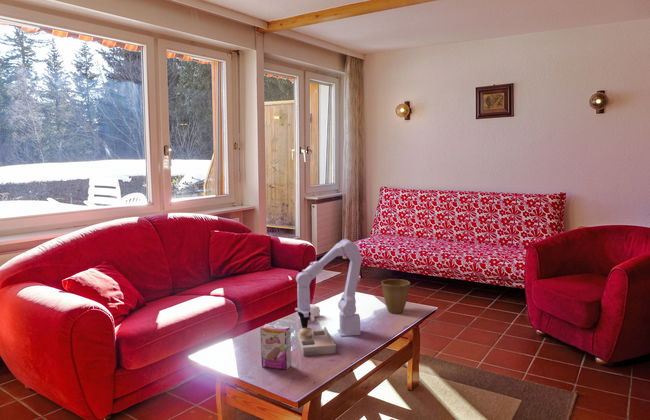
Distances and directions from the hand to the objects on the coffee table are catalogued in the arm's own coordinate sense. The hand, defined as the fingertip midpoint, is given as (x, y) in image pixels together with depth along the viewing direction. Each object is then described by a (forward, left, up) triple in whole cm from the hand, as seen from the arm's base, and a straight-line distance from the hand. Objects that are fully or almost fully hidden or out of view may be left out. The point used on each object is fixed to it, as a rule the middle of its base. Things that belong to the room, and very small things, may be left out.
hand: (304, 327), depth 234 cm
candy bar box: (+16, +29, -5) cm, 33 cm away
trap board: (-3, +9, -5) cm, 11 cm away
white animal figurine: (-6, -26, -5) cm, 27 cm away
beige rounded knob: (0, +5, -3) cm, 6 cm away
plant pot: (-52, -26, -5) cm, 59 cm away
